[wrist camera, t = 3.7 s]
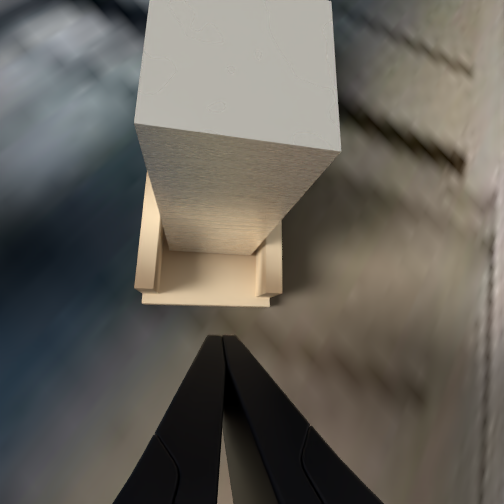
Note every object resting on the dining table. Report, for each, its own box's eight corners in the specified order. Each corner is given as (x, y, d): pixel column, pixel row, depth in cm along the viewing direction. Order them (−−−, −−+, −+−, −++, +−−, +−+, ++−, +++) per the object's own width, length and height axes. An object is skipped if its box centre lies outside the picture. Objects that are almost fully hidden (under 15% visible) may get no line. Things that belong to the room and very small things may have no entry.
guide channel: (265, 307, 17) (282, 303, 14) (144, 304, 16) (133, 299, 13) (266, 49, 22) (278, 1, 19) (172, 30, 21) (168, -24, 17)
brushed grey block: (250, 255, 17) (341, 151, 7) (169, 250, 16) (133, 122, 6) (252, 122, 19) (323, -110, 9) (181, 111, 18) (170, -159, 8)
